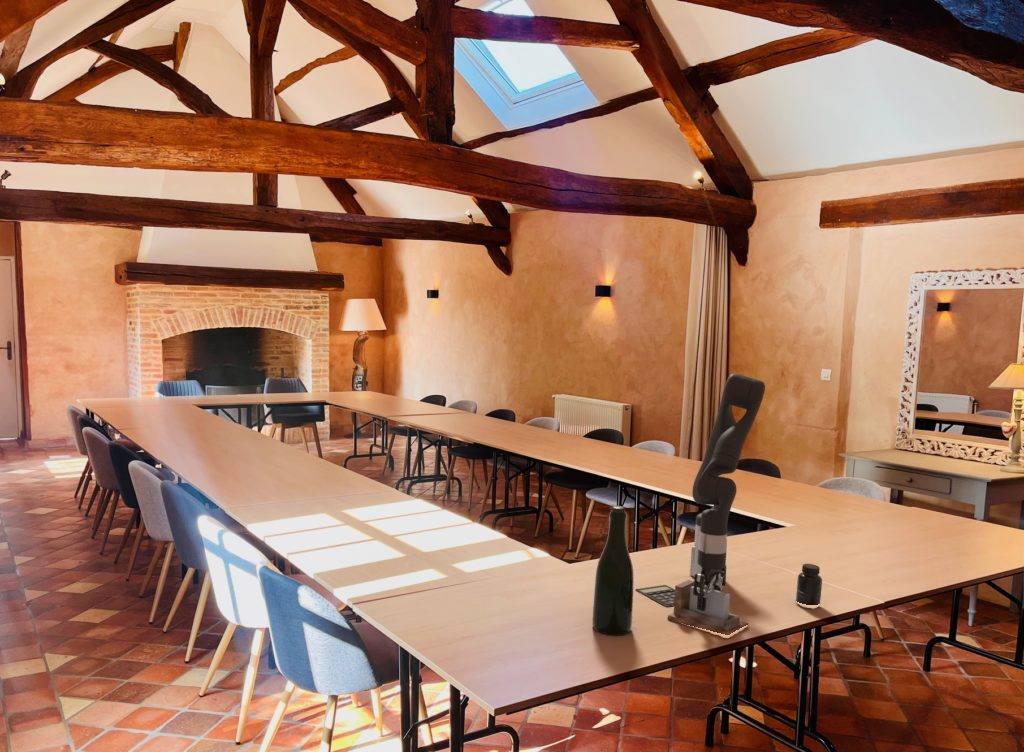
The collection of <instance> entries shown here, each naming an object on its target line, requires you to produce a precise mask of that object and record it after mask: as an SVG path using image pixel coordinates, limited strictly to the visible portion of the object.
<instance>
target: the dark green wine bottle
mask: <svg viewBox="0 0 1024 752" xmlns="http://www.w3.org/2000/svg"><path fill="white" fill-rule="evenodd" d="M625 509H626V508H625V507H624V506H621V505H613V506H612V507H611V510H610V512H609V525H608V526H609V527H608V533H607V534H608V535H607V539H606V543H605V546H604V547H603V550H602V552H601V554H600V557H599V559H598V562H597V565H596V571H595V580H594V591H593V592H594V593H593V604H592V605H593V607H592V617H591V618H592V619H591V620H592V627H593V629H594V630H595V631H597V632H599V633H602V634H605V635H611V636H622V635H626V634H628V633H629V632H630V631H631V629H632V625H633V610H634V609H633V608H634V581H635V580H634V579H635V577H634V566H633V562H632V559H631V556H630V552H629V549H628V545H627V539H626V538H627V537H626V523H627V522H626V521H627V512H626V510H625Z"/></svg>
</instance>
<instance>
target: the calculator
mask: <svg viewBox="0 0 1024 752" xmlns="http://www.w3.org/2000/svg"><path fill="white" fill-rule="evenodd" d="M635 591H636V592H638V593H639V594H641V595H643V596H644V597H646V598H649V599H650V600H652V601H653V602H655V603H657V604H659V605H661V606H663V607H664V608H671V607H674V599H675V588H673V587H671V586H669V585H667V584H662V585H661V584H660V585H655V586H648V587H640V588H635Z"/></svg>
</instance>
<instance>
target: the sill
mask: <svg viewBox="0 0 1024 752" xmlns="http://www.w3.org/2000/svg"><path fill="white" fill-rule="evenodd" d="M692 586H694V580H691V579H687V580H684V581H682V582H681V583H679V584H678V583H677V584H676V585H675V587H674V589H675V599H674V606H673V612H672V613H669V614H668V615H667V620H669V621H671V622H674V621H675V622H674V623H677V622H679V623H678V624H680V623H683V624H686V625H690V626H694V627H698V628H702V629H706V630H710V631H713V632H717V633H721V634H725V635H730V634H731V633H733V632H735V631H736V630H739V629H740V628H742V627H744V626H746V625H748V626H749V622H747V621H743V620H741V616H739V615H736V614H733V613H730V612H729V618H728V620H727V621H724V620H720V619H717V618H714V617H711V616H708V615H705V614H701V613H698V612H695V611H692V610H689V607H690V591H691V587H692ZM683 624H682V625H683ZM686 625H685V626H686Z"/></svg>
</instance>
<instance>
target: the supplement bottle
mask: <svg viewBox="0 0 1024 752" xmlns="http://www.w3.org/2000/svg"><path fill="white" fill-rule="evenodd" d="M820 570H821V568H820V566H819V565H817V564H813V563H803V564H802V566H801V572H800V573H799V574H798V575H797V582H796V583H797V584H796V585H797V586H796V594H795V595H796V596H795V602H796V601H797V602H799V603H802V604H806V605H818V604H820V605H821V598H822V588H823V579H822V577H821V575H820Z"/></svg>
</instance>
